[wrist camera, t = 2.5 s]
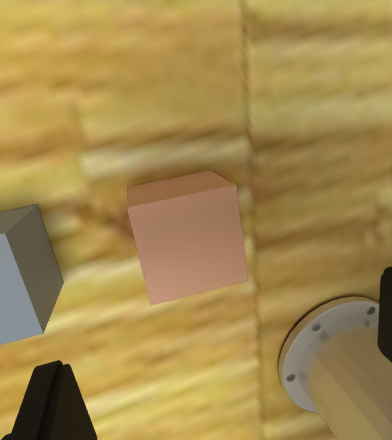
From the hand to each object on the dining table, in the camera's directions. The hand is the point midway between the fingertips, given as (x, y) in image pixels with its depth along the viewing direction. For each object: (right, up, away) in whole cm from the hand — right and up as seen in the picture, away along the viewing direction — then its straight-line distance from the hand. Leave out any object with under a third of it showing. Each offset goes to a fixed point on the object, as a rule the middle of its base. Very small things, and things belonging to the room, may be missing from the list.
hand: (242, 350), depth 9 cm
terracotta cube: (-3, +4, +14) cm, 15 cm away
